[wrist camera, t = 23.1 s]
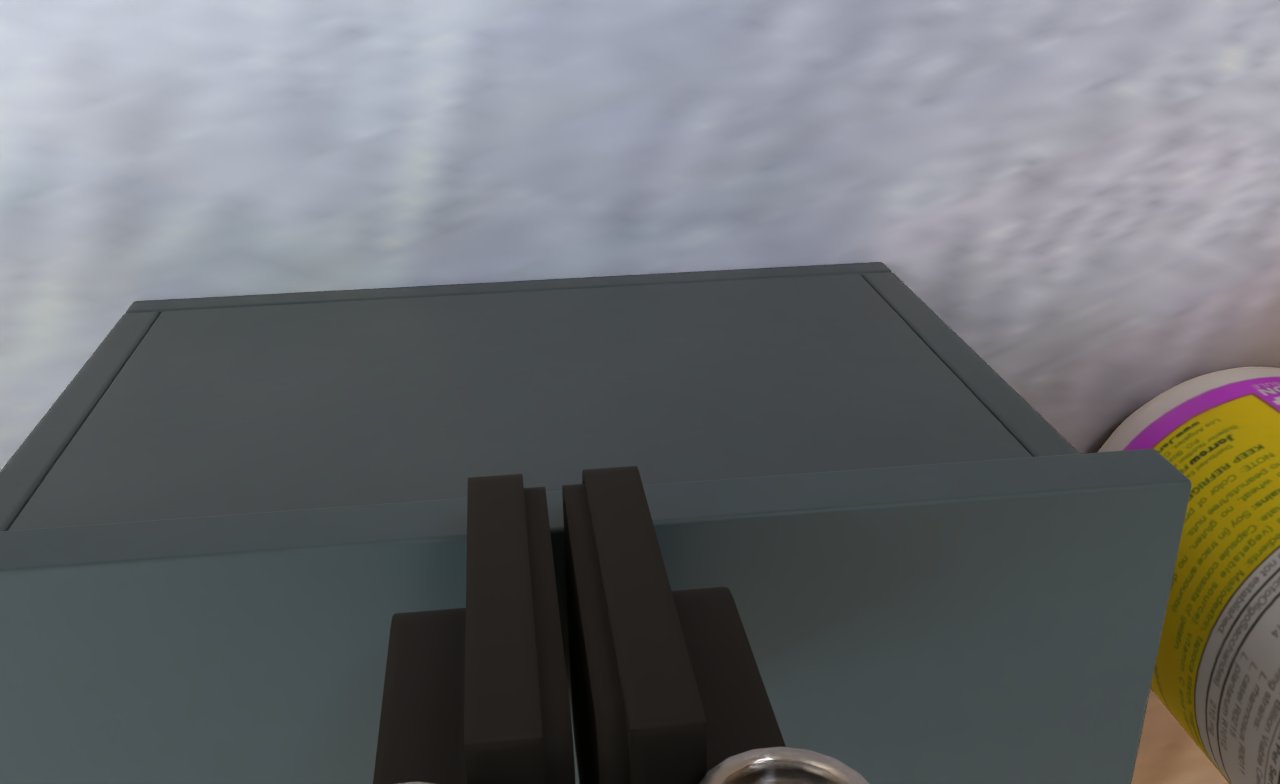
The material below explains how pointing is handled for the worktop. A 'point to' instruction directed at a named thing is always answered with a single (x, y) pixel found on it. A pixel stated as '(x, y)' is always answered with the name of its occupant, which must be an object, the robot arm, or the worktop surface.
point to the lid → (436, 580)
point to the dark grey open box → (508, 393)
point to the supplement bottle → (1222, 565)
